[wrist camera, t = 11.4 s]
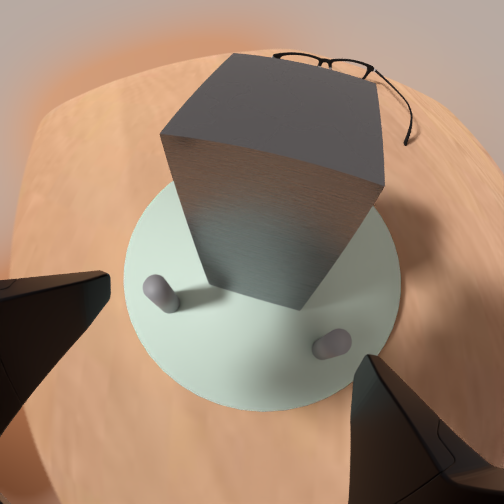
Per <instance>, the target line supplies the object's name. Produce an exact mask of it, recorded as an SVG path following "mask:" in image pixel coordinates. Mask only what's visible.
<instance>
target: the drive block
mask: <svg viewBox="0 0 504 504" xmlns="http://www.w3.org/2000/svg"><path fill="white" fill-rule="evenodd" d="M160 137H161V141H162V144H163V148H164V151H165V155H166V158H167V161H168V165H169V168H170V171H171V174H172V178H173V181H174V184H175V187H176V190H177V194H178V197H179V200H180V203H181V206H182V209H183V212H184V215H185V218H186V221H187V224H188V227H189V230H190V233H191V236H192V239H193V242H194V244H195V247H196V250H197V253H198V256H199V259H200V261H201V264H202V267H203V270H204V272H205V275H206V278H207V280H208V283H209V285H212V286H216V287H219V288H222V289H225V290H229V291H232V292H235V293H239V294H242V295H245V296H249V297H252V298H256V299H259V300H263V301H266V302H269V303H273V304H277V305H280V306H284V307H287V308H291V309H295V310H298V311H300V310H301V309H302V308H303V306H304V305H305V304H306V302H307V301H308V300H309V298H310V297H311V296H312V294H313V293H314V292H315V290H316V289H317V287H318V286H319V285H320V283H321V282H322V281H323V279H324V278H325V276H326V275H327V274H328V272H329V271H330V269H331V268H332V266H333V265H334V264H335V262H336V261H337V259H338V258H339V256H340V255H341V254H342V252H343V251H344V249H345V248H346V246H347V245H348V243H349V242H350V240H351V239H352V237H353V236H354V234H355V233H356V231H357V230H358V228H359V227H360V225H361V223H362V222H363V220H364V219H365V217H366V216H367V214H368V213H369V211H370V209H371V208H372V206H373V205H374V203H375V201H376V200H377V198H378V196H379V195H380V193H381V192H382V190H383V188H384V187H385V178H384V154H383V140H382V128H381V118H380V109H379V101H378V94H377V87H376V84H375V83H372V82H370V81H367V80H364V79H360V78H357V77H354V76H351V75H348V74H344V73H341V72H337V71H333V70H329V69H326V68H322V67H317V66H313V65H309V64H304V63H299V62H294V61H289V60H283V59H277V58H271V57H264V56H256V55H247V54H237V53H233V54H232V55H231V56H230V57H229V58H228V59H227V60H226V61H225V62H224V63H223V64H222V65H221V66H220V67H219V68H218V69H217V70H216V71H215V72H214V73H213V74H212V75H211V76H210V77H209V78H208V79H207V80H206V81H205V82H204V83H203V84H202V85H201V86H200V87H199V88H198V89H197V90H196V91H195V93H194V94H193V95H192V96H191V97H190V98H189V99H188V100H187V101H186V103H185V104H184V105H183V106H182V107H181V108H180V109H179V111H178V112H177V113H176V114H175V115H174V117H173V118H172V119H171V120H170V121H169V123H168V124H167V125H166V126H165V128H164V129H163V130H162V131H161V133H160Z"/></svg>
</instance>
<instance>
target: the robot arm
mask: <svg viewBox="0 0 504 504" xmlns="http://www.w3.org/2000/svg"><path fill="white" fill-rule="evenodd" d="M110 295H111V281H110V275H109V274H108V273H105V272H103V271H100V270H99V271H89V272H79V273H69V274H59V275H49V276H39V277H29V278H19V279H9V280H0V436H1V435H2V433H3V432H4V430H5V429H6V428H7V426H8V425H9V423H10V422H11V421H12V419H13V418H14V417H15V415H16V414H17V413H18V411H19V410H20V409H21V407H22V406H23V405H24V403H25V402H26V401H27V399H28V398H29V397H30V396H31V394H32V393H33V392H34V390H35V389H36V388H37V387H38V385H39V384H40V383H41V382H42V381H43V379H44V378H45V377H46V376H47V375H48V373H49V372H50V371H51V370H52V369H53V367H54V366H55V365H56V364H57V363H58V361H59V360H60V359H61V358H62V357H63V356H64V355H65V353H66V352H67V351H68V350H69V349H70V348H71V347H72V345H73V344H74V343H75V342H76V341H77V340H78V339H79V338H80V337H81V335H82V334H83V333H84V332H85V331H86V330H87V329H88V327H89V326H90V325H91V323H92V322H93V321H94V319H95V318H96V317H97V315H98V314H99V313H100V311H101V310H102V309H103V307H104V306H105V305H106V304H107V302H108V301H109V299H110ZM350 426H351V455H350V485H349V501H348V504H504V469H501V468H497V467H494V466H493V465H491V464H489V463H488V462H487V461H486V460H484V459H483V458H482V457H481V456H480V455H479V454H478V453H476V452H475V451H474V450H473V449H472V448H471V447H470V446H468V445H467V444H466V443H465V442H464V441H463V440H462V439H461V438H460V437H458V436H457V435H456V434H455V433H454V432H453V431H452V430H451V429H450V428H449V427H448V426H447V425H446V424H445V423H444V422H443V421H442V420H441V419H439V417H438V416H437V415H436V414H435V413H434V412H433V410H432V409H431V408H430V407H429V406H428V405H427V404H426V403H425V402H424V401H423V400H422V399H421V398H420V397H419V396H418V395H417V394H416V393H415V392H414V391H413V390H412V389H411V388H410V387H409V386H408V385H407V384H406V383H405V382H404V381H403V380H402V379H401V378H400V377H399V376H398V375H397V374H396V373H395V372H394V371H393V370H392V369H391V368H390V367H389V366H388V365H387V364H386V363H385V362H384V361H383V360H382V359H381V358H380V357H379V356H377V355H372V354H367V355H365V356H364V358H363V360H362V361H361V363H360V365H359V367H358V368H357V370H356V372H355V374H354V378H353V392H352V404H351V416H350ZM0 504H11V503H10V502H9V501H8V500H7V499H6V498H5V497H4V496H3V495H2V494H1V493H0Z"/></svg>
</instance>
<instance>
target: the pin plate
mask: <svg viewBox="0 0 504 504" xmlns="http://www.w3.org/2000/svg"><path fill="white" fill-rule="evenodd" d="M124 292H125V300H126V305H127V309H128V312H129V316H130V319H131V322H132V324H133V327H134V329H135V331H136V333H137V336H138V338H139V340H140V341H141V343H142V344H143V346H144V347H145V349H146V351H147V352H148V354H149V355H150V356H151V357H152V359H153V360H154V361H155V362H156V363H157V364H158V365H159V367H160V368H161V369H162V370H163V371H164V372H165V373H166V374H168V375H169V376H170V377H171V378H172V379H174V380H175V381H176V382H177V383H178V384H180V385H181V386H183V387H185V388H186V389H188V390H189V391H191V392H193V393H194V394H196V395H198V396H200V397H202V398H205V399H207V400H209V401H212V402H214V403H217V404H220V405H223V406H227V407H232V408H236V409H240V410H249V411H261V412H267V411H282V410H289V409H294V408H298V407H303V406H307V405H310V404H312V403H315V402H317V401H320V400H323V399H325V398H327V397H329V396H331V395H333V394H335V393H336V392H338V391H340V390H341V389H343V388H345V387H346V386H347V385H349V384H350V383H351V382H353V378H354V374H355V372H356V370H357V368H358V367H359V365H360V363H361V361H362V360H363V358H364V356H365V355H367V354H372V355H377V356H378V354H379V353H380V351H381V350H382V348H383V347H384V345H385V343H386V341H387V339H388V337H389V335H390V333H391V331H392V328H393V326H394V322H395V319H396V316H397V313H398V308H399V301H400V295H401V274H400V266H399V260H398V256H397V252H396V248H395V245H394V242H393V239H392V237H391V235H390V232H389V230H388V228H387V226H386V224H385V223H384V221H383V219H382V217H381V216H380V214H379V213H378V212H377V210H376V209H375V207H374V206H372V208H371V209H370V211H369V213H368V214H367V216H366V217H365V219H364V220H363V222H362V223H361V225H360V227H359V228H358V230H357V231H356V233H355V234H354V236H353V237H352V239H351V240H350V242H349V243H348V245H347V246H346V248H345V249H344V251H343V252H342V254H341V255H340V256H339V258H338V259H337V261H336V262H335V264H334V265H333V266H332V268H331V269H330V271H329V272H328V274H327V275H326V276H325V278H324V279H323V281H322V282H321V283H320V285H319V286H318V287H317V289H316V290H315V292H314V293H313V294H312V296H311V297H310V298H309V300H308V301H307V302H306V304H305V305H304V306H303V308H302V309H301V310H300V311H298V310H295V309H291V308H287V307H284V306H280V305H277V304H273V303H269V302H266V301H263V300H259V299H256V298H252V297H249V296H245V295H242V294H239V293H235V292H232V291H229V290H225V289H222V288H219V287H216V286H212V285H209V283H208V280H207V278H206V275H205V272H204V270H203V267H202V264H201V261H200V259H199V256H198V253H197V250H196V247H195V244H194V242H193V239H192V236H191V233H190V230H189V227H188V224H187V221H186V218H185V215H184V212H183V209H182V206H181V203H180V200H179V197H178V194H177V190H176V187H175V184H174V181H172V182H171V183H170V184H168V185H167V186H166V187H165V188H164V189H163V190H162V191H161V192H160V193H159V194H158V195H157V196H156V197H155V198H154V199H153V201H152V202H151V203H150V204H149V205H148V207H147V208H146V210H145V211H144V213H143V214H142V216H141V217H140V219H139V221H138V223H137V225H136V227H135V229H134V231H133V234H132V236H131V239H130V242H129V246H128V249H127V253H126V259H125V265H124Z"/></svg>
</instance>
